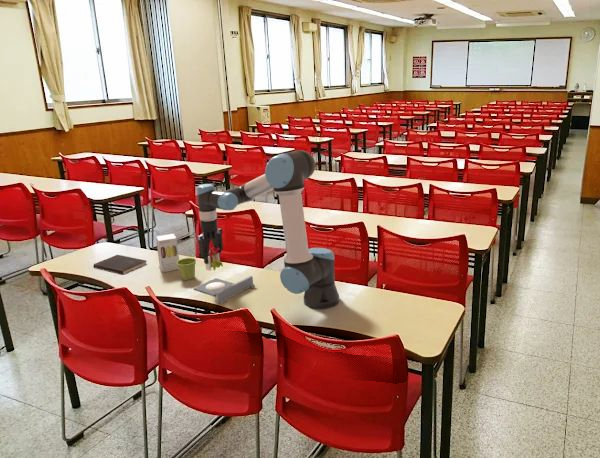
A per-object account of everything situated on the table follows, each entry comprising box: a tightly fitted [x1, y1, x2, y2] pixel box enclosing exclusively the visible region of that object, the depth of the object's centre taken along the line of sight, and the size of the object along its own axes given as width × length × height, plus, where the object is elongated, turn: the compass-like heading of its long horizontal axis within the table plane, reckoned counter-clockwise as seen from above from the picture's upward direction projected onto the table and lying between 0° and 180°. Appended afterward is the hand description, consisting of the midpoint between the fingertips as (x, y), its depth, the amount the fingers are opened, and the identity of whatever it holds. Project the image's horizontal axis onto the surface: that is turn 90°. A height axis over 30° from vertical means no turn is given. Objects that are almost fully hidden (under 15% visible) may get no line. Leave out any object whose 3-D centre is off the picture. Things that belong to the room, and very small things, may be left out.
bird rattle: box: [209, 245, 224, 272], centre depth 222 cm, size 6×11×9 cm
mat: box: [193, 277, 235, 297], centre depth 227 cm, size 14×14×1 cm
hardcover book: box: [93, 254, 147, 275], centre depth 259 cm, size 16×23×2 cm
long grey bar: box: [215, 275, 255, 304], centre depth 219 cm, size 4×22×4 cm, turn 143°
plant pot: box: [177, 257, 197, 281], centre depth 238 cm, size 9×9×9 cm
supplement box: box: [155, 233, 180, 273], centre depth 251 cm, size 10×9×17 cm
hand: (213, 267), depth 224 cm, fingers closed on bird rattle, 5 cm apart
